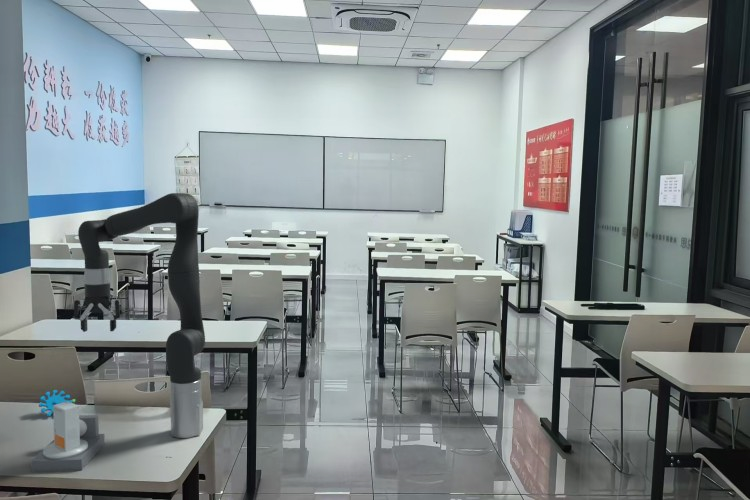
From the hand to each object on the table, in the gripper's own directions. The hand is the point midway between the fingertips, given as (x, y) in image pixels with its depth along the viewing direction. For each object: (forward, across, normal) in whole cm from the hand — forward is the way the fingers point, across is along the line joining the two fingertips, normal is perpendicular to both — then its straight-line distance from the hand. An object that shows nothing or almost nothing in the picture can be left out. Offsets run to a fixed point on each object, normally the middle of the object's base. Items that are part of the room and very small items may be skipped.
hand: (98, 331), depth 187 cm
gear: (+30, +17, -7) cm, 35 cm away
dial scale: (+30, -1, +27) cm, 40 cm away
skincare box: (+26, -1, +29) cm, 39 cm away
